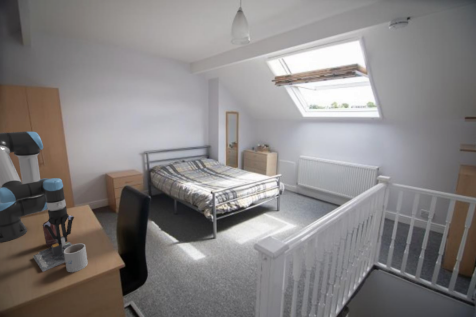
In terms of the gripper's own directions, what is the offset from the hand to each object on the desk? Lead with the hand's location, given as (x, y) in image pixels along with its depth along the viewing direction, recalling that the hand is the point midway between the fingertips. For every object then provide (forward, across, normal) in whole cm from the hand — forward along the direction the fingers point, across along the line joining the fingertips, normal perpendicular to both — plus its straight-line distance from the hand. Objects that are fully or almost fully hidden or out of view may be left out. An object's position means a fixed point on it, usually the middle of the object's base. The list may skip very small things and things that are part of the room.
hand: (63, 248), depth 119 cm
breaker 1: (+2, 0, +5) cm, 6 cm away
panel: (+3, -3, 0) cm, 5 cm away
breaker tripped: (+2, -3, 0) cm, 4 cm away
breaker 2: (+2, 0, -6) cm, 6 cm away
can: (+4, -1, +16) cm, 16 cm away
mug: (+4, 0, -15) cm, 16 cm away
